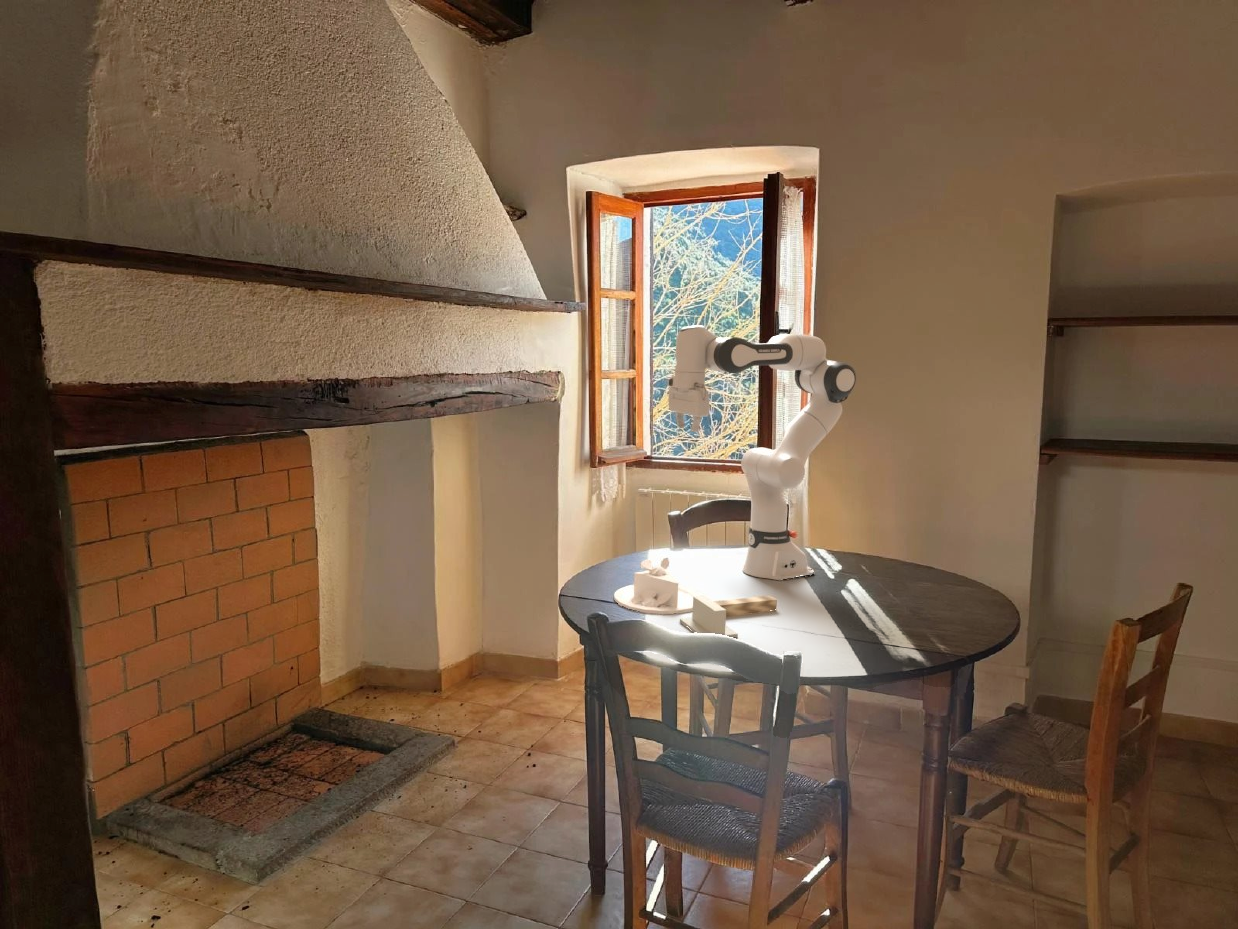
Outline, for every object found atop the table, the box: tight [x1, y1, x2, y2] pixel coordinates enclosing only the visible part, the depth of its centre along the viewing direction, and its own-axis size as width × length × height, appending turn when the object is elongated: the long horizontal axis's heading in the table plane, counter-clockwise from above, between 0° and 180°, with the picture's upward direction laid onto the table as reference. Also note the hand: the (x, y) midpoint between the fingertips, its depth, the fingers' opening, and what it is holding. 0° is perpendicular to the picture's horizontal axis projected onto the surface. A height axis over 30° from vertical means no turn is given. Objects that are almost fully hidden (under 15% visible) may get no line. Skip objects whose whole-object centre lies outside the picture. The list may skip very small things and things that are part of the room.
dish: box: [613, 557, 703, 615], centre depth 229 cm, size 25×25×11 cm
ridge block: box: [679, 595, 739, 639], centre depth 206 cm, size 9×14×7 cm, turn 21°
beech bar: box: [712, 595, 778, 617], centre depth 221 cm, size 18×4×4 cm, turn 112°
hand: (687, 429), depth 241 cm, fingers open, 8 cm apart
